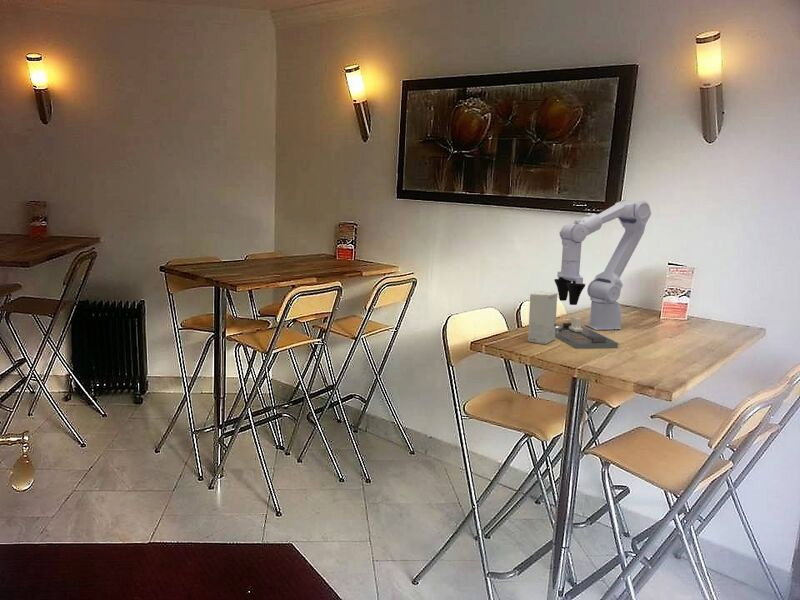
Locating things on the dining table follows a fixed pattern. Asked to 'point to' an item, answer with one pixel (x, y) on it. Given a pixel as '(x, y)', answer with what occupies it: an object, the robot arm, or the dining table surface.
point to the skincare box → (542, 317)
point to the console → (583, 338)
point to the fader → (576, 324)
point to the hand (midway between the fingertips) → (568, 302)
